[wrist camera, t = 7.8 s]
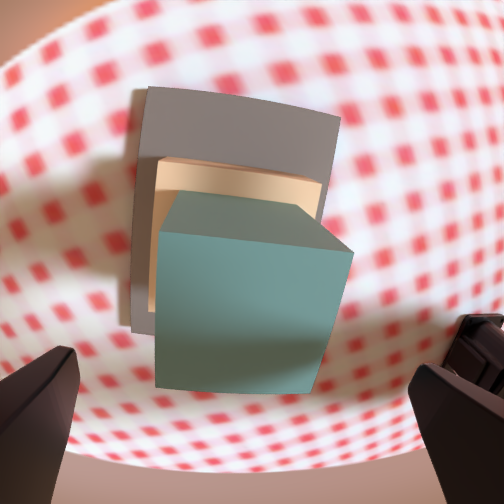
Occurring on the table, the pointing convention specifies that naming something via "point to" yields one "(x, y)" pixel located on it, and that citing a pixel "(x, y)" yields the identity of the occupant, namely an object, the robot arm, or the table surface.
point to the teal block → (244, 295)
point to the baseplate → (220, 156)
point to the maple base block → (223, 192)
